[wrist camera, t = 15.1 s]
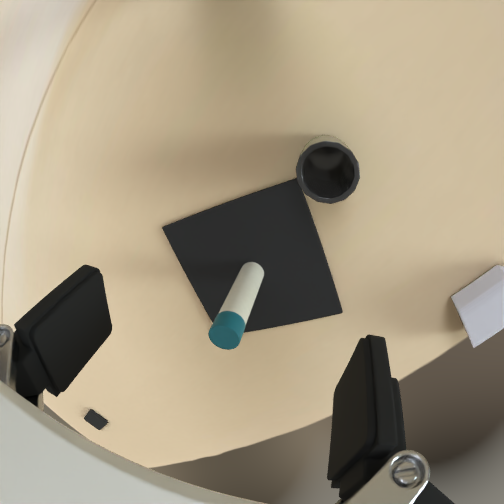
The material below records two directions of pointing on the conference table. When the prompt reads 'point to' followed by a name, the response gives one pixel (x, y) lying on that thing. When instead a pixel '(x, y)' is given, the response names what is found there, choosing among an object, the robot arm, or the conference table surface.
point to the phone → (95, 420)
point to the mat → (258, 256)
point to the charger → (482, 305)
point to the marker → (237, 307)
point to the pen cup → (327, 170)
